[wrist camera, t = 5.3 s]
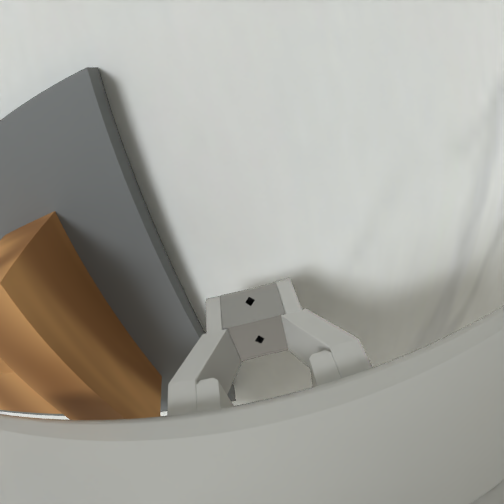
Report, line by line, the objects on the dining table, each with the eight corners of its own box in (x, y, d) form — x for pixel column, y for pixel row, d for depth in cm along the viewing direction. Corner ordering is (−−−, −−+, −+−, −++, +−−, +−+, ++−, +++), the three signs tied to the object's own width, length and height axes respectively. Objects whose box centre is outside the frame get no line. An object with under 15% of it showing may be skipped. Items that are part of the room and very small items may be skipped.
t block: (54, 210, 9) (-1, 282, 5) (161, 376, 14) (159, 444, 11) (-54, 268, 9) (-91, 321, 6) (45, 387, 14) (32, 438, 11)
